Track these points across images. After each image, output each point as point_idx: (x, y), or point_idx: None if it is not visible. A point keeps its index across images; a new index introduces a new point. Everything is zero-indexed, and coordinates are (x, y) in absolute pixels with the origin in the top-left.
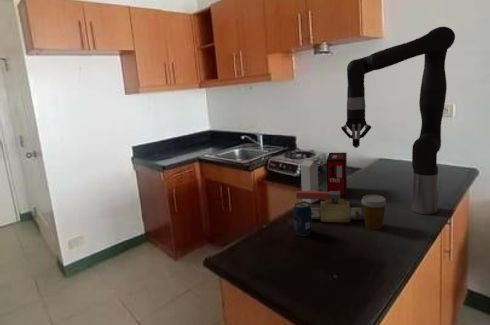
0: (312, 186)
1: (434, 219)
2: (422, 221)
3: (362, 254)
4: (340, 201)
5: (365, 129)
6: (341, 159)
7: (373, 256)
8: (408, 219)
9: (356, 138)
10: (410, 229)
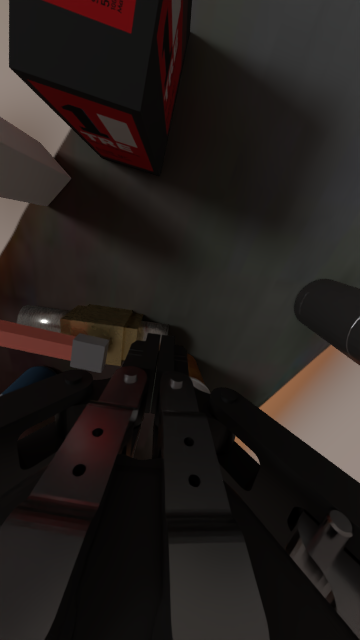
0: (19, 190)
1: (308, 348)
2: (281, 354)
3: (137, 443)
4: (112, 345)
5: (292, 507)
6: (116, 84)
7: (151, 448)
8: (260, 343)
9: (158, 390)
10: (241, 382)
